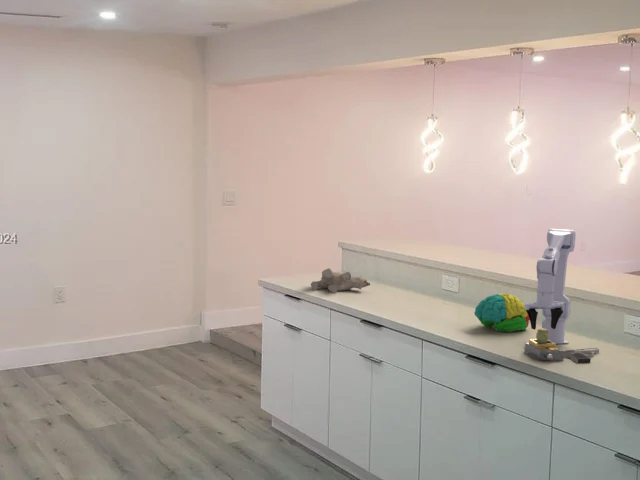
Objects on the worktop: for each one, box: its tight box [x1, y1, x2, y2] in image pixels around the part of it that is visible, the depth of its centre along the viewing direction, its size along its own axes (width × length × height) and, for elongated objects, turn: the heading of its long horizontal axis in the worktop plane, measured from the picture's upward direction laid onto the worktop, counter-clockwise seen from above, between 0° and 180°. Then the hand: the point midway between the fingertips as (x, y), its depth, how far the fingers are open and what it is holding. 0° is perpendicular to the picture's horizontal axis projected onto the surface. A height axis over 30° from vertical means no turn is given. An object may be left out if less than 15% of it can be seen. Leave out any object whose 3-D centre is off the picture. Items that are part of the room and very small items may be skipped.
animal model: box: [310, 267, 371, 294], centre depth 386 cm, size 14×28×17 cm
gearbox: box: [524, 338, 565, 362], centre depth 268 cm, size 14×9×5 cm, turn 9°
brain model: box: [474, 293, 530, 333], centre depth 309 cm, size 24×19×15 cm
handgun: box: [563, 347, 600, 364], centre depth 269 cm, size 18×2×12 cm
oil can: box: [536, 328, 549, 344], centre depth 269 cm, size 5×4×6 cm
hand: (543, 328), depth 269 cm, fingers open, 7 cm apart
